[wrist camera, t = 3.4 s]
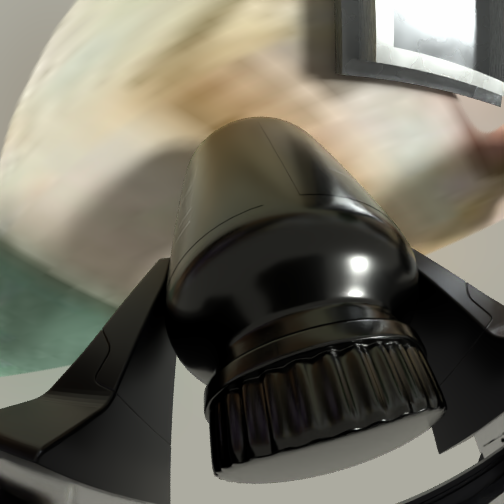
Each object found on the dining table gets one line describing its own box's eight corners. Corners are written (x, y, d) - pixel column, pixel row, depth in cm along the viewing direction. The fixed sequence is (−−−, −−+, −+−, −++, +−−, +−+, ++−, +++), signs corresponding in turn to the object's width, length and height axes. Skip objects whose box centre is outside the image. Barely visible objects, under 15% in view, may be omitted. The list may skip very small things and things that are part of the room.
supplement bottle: (251, 262, 17) (287, 489, 8) (156, 183, 13) (84, 464, 4) (352, 187, 15) (489, 404, 5) (268, 81, 11) (504, 292, 2)
